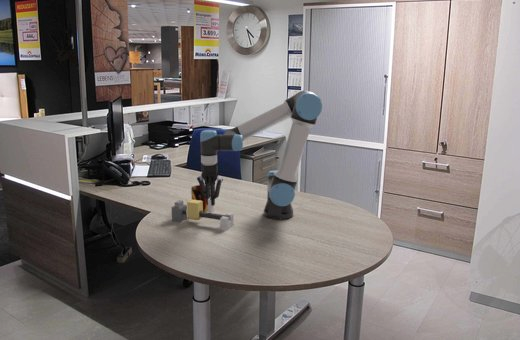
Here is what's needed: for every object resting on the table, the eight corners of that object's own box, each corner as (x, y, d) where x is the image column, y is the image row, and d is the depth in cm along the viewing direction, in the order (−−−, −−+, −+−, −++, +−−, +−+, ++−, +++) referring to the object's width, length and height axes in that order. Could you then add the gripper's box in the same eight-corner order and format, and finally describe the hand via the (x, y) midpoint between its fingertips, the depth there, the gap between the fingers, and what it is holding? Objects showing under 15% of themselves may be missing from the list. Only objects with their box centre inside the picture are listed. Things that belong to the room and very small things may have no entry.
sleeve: (203, 217, 220) (202, 200, 218) (198, 220, 216) (198, 203, 214) (192, 215, 222) (191, 199, 220) (187, 218, 218) (187, 201, 216)
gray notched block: (233, 224, 216) (233, 213, 215) (226, 230, 209) (225, 218, 207) (228, 223, 217) (228, 212, 216) (220, 229, 210) (220, 218, 208)
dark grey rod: (229, 220, 214) (229, 213, 213) (226, 223, 211) (226, 216, 210) (178, 212, 224) (178, 206, 223) (174, 215, 221) (174, 208, 220)
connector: (187, 218, 224) (186, 200, 222) (180, 222, 219) (180, 203, 217) (178, 216, 226) (177, 199, 224) (172, 220, 221) (171, 202, 218)
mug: (199, 216, 228) (198, 193, 225) (189, 208, 239) (188, 186, 236) (216, 212, 232) (216, 190, 230) (206, 205, 244) (205, 184, 241)
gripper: (225, 163, 210) (226, 210, 216) (201, 160, 215) (202, 207, 221) (218, 166, 203) (219, 215, 209) (193, 164, 208) (195, 212, 214)
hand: (210, 211), depth 215 cm, fingers closed
